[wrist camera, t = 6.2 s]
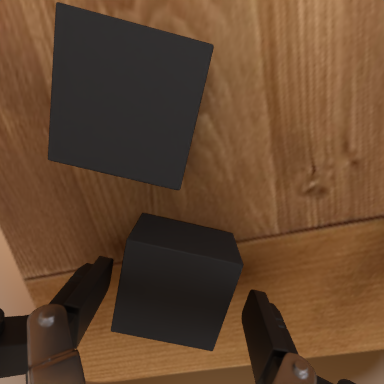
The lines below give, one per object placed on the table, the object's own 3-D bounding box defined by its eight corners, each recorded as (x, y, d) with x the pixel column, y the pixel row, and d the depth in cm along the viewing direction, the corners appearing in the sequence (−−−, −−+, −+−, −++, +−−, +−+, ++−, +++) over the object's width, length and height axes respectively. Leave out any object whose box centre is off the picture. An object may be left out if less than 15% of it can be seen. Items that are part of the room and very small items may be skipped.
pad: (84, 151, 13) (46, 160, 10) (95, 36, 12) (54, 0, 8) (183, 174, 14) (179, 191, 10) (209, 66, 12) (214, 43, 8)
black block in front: (128, 288, 16) (110, 332, 13) (142, 212, 14) (126, 239, 11) (209, 305, 16) (213, 352, 13) (233, 232, 15) (244, 265, 11)
